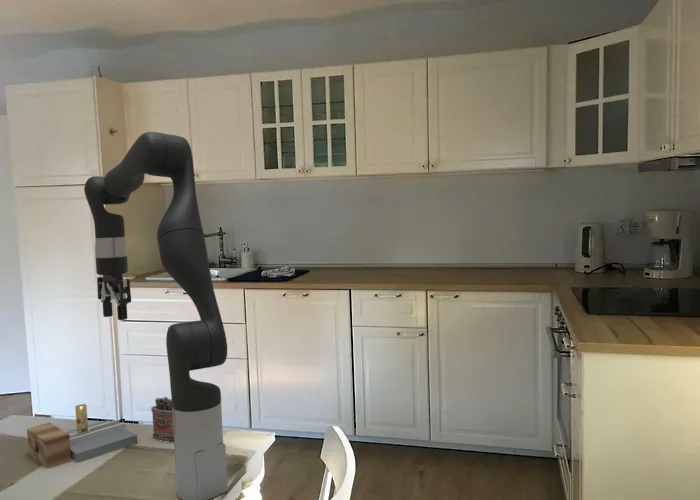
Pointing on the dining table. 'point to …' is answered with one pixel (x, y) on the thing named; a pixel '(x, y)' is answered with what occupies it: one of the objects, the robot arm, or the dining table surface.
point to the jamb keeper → (49, 445)
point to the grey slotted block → (101, 440)
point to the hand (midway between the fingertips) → (115, 318)
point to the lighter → (163, 419)
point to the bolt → (81, 421)
